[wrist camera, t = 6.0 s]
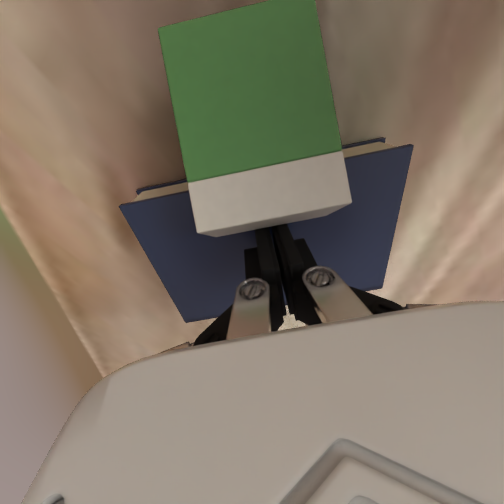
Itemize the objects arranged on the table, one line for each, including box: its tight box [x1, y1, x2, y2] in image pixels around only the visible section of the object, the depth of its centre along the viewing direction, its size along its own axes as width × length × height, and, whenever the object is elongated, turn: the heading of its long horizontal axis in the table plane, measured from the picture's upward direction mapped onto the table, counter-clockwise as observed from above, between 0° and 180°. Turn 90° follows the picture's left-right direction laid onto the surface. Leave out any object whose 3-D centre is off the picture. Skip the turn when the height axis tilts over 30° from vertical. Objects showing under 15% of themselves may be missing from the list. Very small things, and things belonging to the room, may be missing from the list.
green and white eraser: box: [158, 0, 352, 237], centre depth 9 cm, size 7×5×3 cm
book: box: [119, 137, 414, 323], centre depth 14 cm, size 9×14×3 cm, turn 101°
